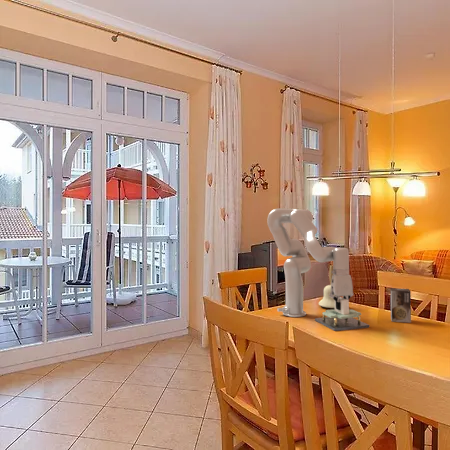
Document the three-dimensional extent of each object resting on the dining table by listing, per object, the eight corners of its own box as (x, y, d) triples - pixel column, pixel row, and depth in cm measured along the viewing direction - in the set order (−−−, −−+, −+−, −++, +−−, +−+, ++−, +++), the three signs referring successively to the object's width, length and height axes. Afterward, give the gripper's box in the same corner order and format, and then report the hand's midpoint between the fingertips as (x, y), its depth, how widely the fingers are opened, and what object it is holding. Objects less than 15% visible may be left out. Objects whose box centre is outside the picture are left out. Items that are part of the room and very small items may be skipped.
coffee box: (409, 319, 197) (409, 288, 197) (411, 323, 191) (411, 291, 191) (390, 318, 200) (390, 287, 200) (391, 321, 194) (391, 290, 194)
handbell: (331, 311, 215) (331, 267, 215) (312, 306, 229) (312, 264, 228) (350, 308, 223) (350, 265, 222) (331, 303, 236) (331, 263, 235)
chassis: (334, 331, 179) (334, 321, 179) (314, 320, 198) (314, 311, 198) (369, 327, 184) (369, 317, 184) (346, 317, 203) (346, 308, 203)
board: (334, 319, 182) (334, 302, 182) (319, 312, 195) (319, 297, 195) (365, 316, 186) (364, 300, 186) (348, 309, 200) (348, 294, 200)
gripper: (330, 274, 185) (331, 312, 185) (359, 272, 189) (360, 309, 189) (322, 272, 192) (323, 308, 192) (351, 270, 196) (351, 306, 196)
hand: (341, 308), depth 191 cm, fingers closed on board, 3 cm apart
